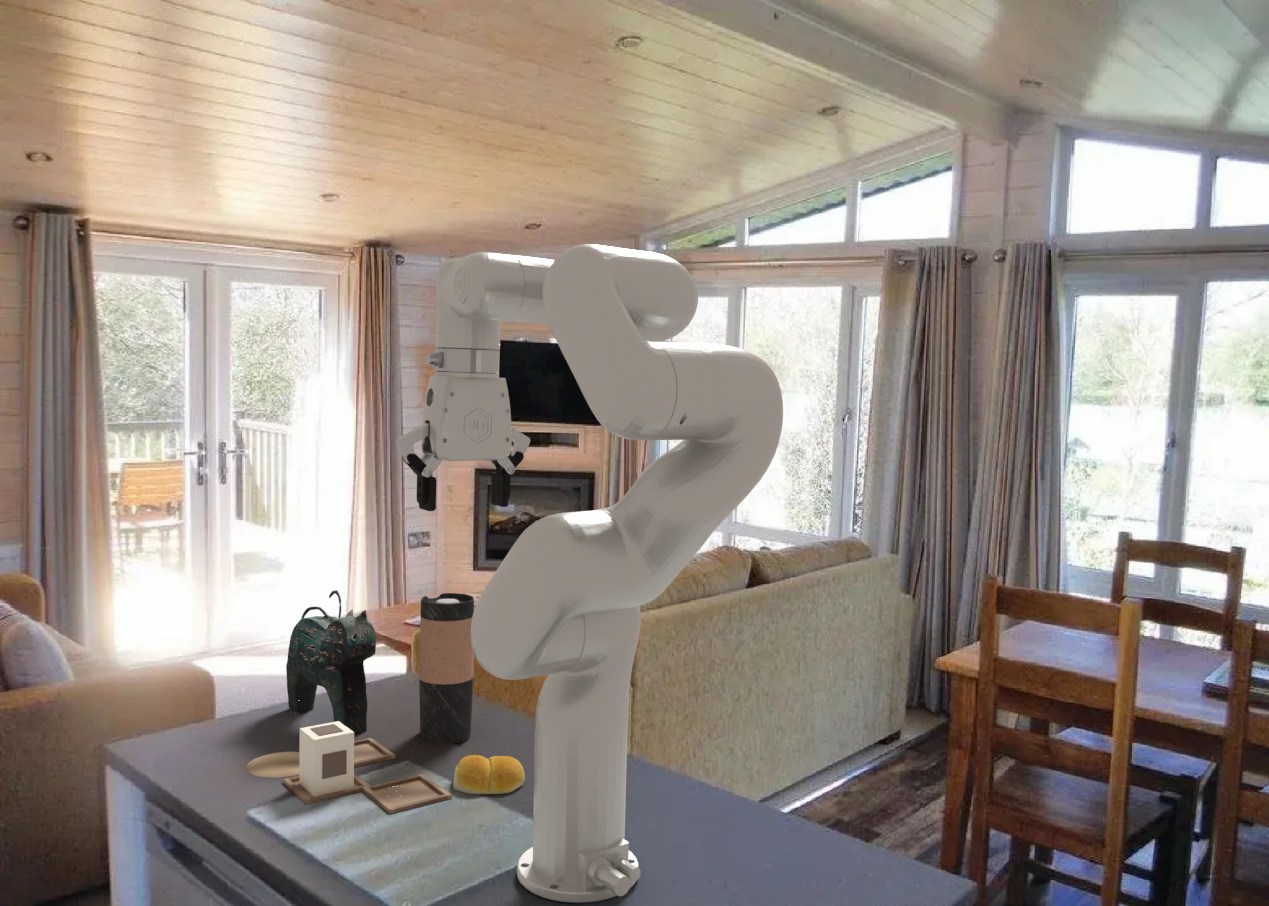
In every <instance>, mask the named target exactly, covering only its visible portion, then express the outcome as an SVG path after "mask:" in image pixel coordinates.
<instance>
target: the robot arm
mask: <svg viewBox="0 0 1269 906" xmlns="http://www.w3.org/2000/svg"><path fill="white" fill-rule="evenodd" d="M436 280H437V283H436V284H437V285H436V321H435V322H436V323H435V324H436V325H435V326H436V328H435V348H434V349H433V350H434V351H433V353H427V354H426V355H425V359H424V361H425V364H426V365H427V366H432V367H433V371H435V373H434V375H430V377H429V381H428V384H427V385H428V386H427V388H426V389H427V390H426V394H425V398H424V399H425V400H424V405H423V412H422V424H421V425H419V426H417V427H415V428H413V429H411V430H410V431H407V432H406V433H405V434H403V435H401V436H399V437H398V438H396V440H395V445H396V446H397V448H398V450H399V453H400V455H401V456H402V460H403V462H404V464H406V465H407V466H408V468H410V469H411V471H412V473H413V474H414V476H415V475H416V502H417V504H418V507H419V509H421V510H423V511H427V512H434V511H436V509H437V477H435V476H433V474H434V473H435V471H436V470H437V469H438V467H439V466H440V465H441V464H442V462H443V461H448V462H473V461H475V462H479V461H481V462H482V461H483V462H484V461H485V462H486V461H489V462H490V463H491V465H492V466H493V468H494V469H495V471H492V473H491V480H490V481H491V482H490V483H491V487H490V504H492V505H494V506H497V507H500V508H507V507H508V506H509V500H510V497H511V482H512V481H511V477H512V476H511V475H514V473H515V472H516V469H517V467H518V466H519V465H520V464H521V462H522V461H523V460H524V457H525V454H526V452H527V450H528V448H529V445H530V443H531V438H530V437H529V436H528V435H525V434H524V433H522V432H520V431H519V430H517V429H515V428H513V426H512V415H511V413H512V412H511V403H510V397H509V396H510V395H509V389H508V384H507V380H506V379H507V378H506V377H500V353H501V323H502V322H503V323H504V322H505V323H507V322H508V323H521V324H534V325H537V324H538V325H544V326H545V325H546V326H549V327H550V330H551V332H552V334H553V337H554V339H555V341H556V343H557V345H558V348H560V351H561V354H562V355H563V357H564V359H565V360H566V362H567V365H568V366H569V369H570V371H571V373H572V374H573V376H574V378H575V380H576V381H575V382H576V383H577V386H578V387H579V389H580V391H581V393H582V396H583V397H584V399H585V401H586V403H587V406H588V407H589V408H590V410H591V412H592V414H593V415H594V417H595V418H596V420H597V421H598V422H599V424H601V426H602V427H603V428H604V429H605V430H607V432H608V433H611V434H612V435H614V436H617V437H619V438H622V439H625V440H631V441H678V440H679V441H680V440H681V441H680V442H679V443H678V444H677V445H676V446H674V447H673V448H671V449H669V450H668V451H666V452H665V453H663V454H661V456H659V457H658V458H657V459H654V461H653V462H651V463H650V464H649V465H648V466H647V467H645V469H644V470H642V472H641V473H640V474H639V476H638V477H637V478H636V480H635V482H634V483H633V484H632V486H631V487H630V488H629V489H628V491H627V492H626V493H625V494H624V496H622V498H621V499H620V500H618V501H617V502H616V503H615V504H613V505H611V506H608V507H604V508H598V509H593V510H591V509H590V510H581V511H569V512H560V513H554V514H549V515H546V516H544V517H541V518H540V519H538V520H536V521H534V522H533V523H532V524H530V525H529V526H528V527H526V528H525V529H524V531H522V533H521V534H520V535H519V537H518V538H517V539H516V541H515V542H514V544H513V545H512V546H511V548H510V549H509V551H508V552H507V554H506V555H505V557H504V558H503V560H502V561H501V562H500V565H499V566H498V567H497V569H496V571H495V572H494V573H493V575H492V576H491V578H490V579H489V581H488V583H487V584H486V585H485V587H484V589H483V590H482V592H481V594H480V596H479V597H478V600H477V602H476V604H475V606H474V613H473V617H472V622H471V644H472V648H473V652H474V657H475V659H476V660H477V662H478V664H479V665H480V666H481V668H483V669H484V670H485V672H487V673H488V674H490V675H492V676H493V677H496V678H499V679H502V680H508V681H509V680H511V681H513V680H523V679H530V678H536V677H541V676H546V678H545V680H544V682H543V684H542V686H541V689H540V692H539V695H538V699H537V703H536V709H535V721H534V722H535V725H534V727H535V729H534V764H533V766H534V767H533V768H534V769H533V773H534V774H533V775H534V776H533V821H532V822H533V824H532V825H533V826H532V846H531V847H530V848H528V849H527V850H525V851H524V852H523V854H521V856H520V857H519V859H518V861H517V866H516V873H517V879H518V881H519V883H520V884H521V885H522V886H523V888H525V889H526V890H528V891H529V892H531V893H532V894H534V895H536V896H539V897H542V898H544V899H548V900H551V901H557V902H564V903H574V904H575V903H576V904H577V903H578V904H579V903H580V904H581V903H594V902H600V901H601V902H602V901H604V900H608V899H612V898H614V897H617V896H618V897H622V896H625V895H626V894H628V892H629V890H630V889H631V888H632V887H633V886H634V885H635V883H636V882H637V881H638V880H639V879H640V877H641V875H642V871H641V869H640V868H639V867H640V866H639V865H640V864H639V861H638V859H637V857H636V855H635V854H634V853H633V852H632V851H630V842H629V840H626V839H625V836H626V835H625V834H626V802H627V801H626V800H627V799H626V798H627V795H626V794H627V764H628V762H627V761H628V760H627V759H628V728H629V727H628V726H629V703H630V687H631V679H632V671H633V665H634V660H635V656H636V651H637V648H638V642H639V637H640V632H641V625H642V624H641V623H642V619H641V618H642V615H641V607H640V606H644V605H646V604H649V603H650V602H652V601H654V600H656V599H657V598H659V597H660V596H661V595H662V593H663V592H664V591H666V590H667V588H668V587H669V586H670V585H671V583H672V582H673V581H675V579H676V578H677V576H678V575H679V574H680V573H681V572H682V571H683V570H684V569H685V567H686V566H687V565H688V564H689V562H691V560H692V559H693V558H694V557H695V556H696V554H697V553H698V552H699V551H700V549H701V548H702V547H703V546H704V545H705V544H706V542H707V541H708V539H709V538H710V537H711V535H712V534H713V533H714V532H715V531H716V529H717V528H718V527H719V526H720V525H721V524H722V523H723V521H724V520H726V518H728V517H729V515H730V514H731V513H732V512H733V511H734V510H736V509H737V507H738V506H739V505H741V503H742V502H743V501H744V500H745V499H746V498H747V497H748V496H749V494H750V493H751V492H752V491H753V489H754V488H755V487H756V486H757V485H758V484H759V482H760V481H761V480H762V478H763V477H764V475H765V474H766V473H767V471H768V469H769V467H770V466H771V463H772V462H773V459H774V457H775V455H776V452H777V450H778V447H779V443H780V439H781V436H782V430H783V429H782V428H783V422H784V420H783V419H784V405H783V404H784V403H783V394H782V389H781V386H780V382H779V379H778V377H777V375H776V374H775V373H776V372H775V371H774V370H773V369H772V368H771V366H770V365H769V364H768V363H767V362H766V361H765V360H763V359H762V358H760V357H759V356H758V355H756V354H754V353H752V352H750V351H748V350H746V349H742V348H739V347H736V346H731V345H727V344H718V343H709V342H708V343H707V342H691V341H690V342H689V341H675V340H674V341H673V340H670V339H672V338H674V337H676V336H678V335H679V334H681V333H682V332H683V331H684V330H686V328H687V327H688V326H689V325H690V323H691V322H692V320H693V318H694V317H695V314H696V312H697V309H698V302H699V293H698V287H697V284H696V281H695V280H694V277H693V276H692V275H691V273H690V271H688V270H687V268H686V267H685V266H684V265H683V264H682V263H680V262H679V261H677V260H676V259H674V258H672V257H669V256H668V255H665V254H662V253H657V252H655V251H654V252H653V251H645V250H637V249H630V248H623V247H616V246H608V245H602V244H590V243H589V244H587V243H585V244H579V245H575V246H572V247H570V248H566V250H564V251H562V252H561V253H559V255H558V256H557V257H556V258H555V259H549V258H542V257H541V258H540V257H534V256H527V255H519V254H505V253H498V252H491V251H490V252H489V251H488V252H487V251H478V252H474V253H473V252H472V253H470V254H467V255H466V256H464V257H463V258H451V259H447V260H444V261H443V262H441V263H440V265H439V267H438V270H437V279H436ZM669 340H670V341H669ZM420 441H421V450H422V451H421V452H422V453H423V454H422V455H421V457H419V456H418V455H417V454H416V452H415V448H414V445H416V443H418V442H420ZM512 443H513V447H512Z"/></svg>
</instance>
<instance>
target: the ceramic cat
mask: <svg viewBox="0 0 1269 906" xmlns="http://www.w3.org/2000/svg"><path fill="white" fill-rule="evenodd" d="M334 595H336V596H337V598H338V603H339V605H338V607H339V609H338V610H339V611H338V618H337V617H335V616H332V615H329V614H327V612H326V611H325V610H324V608H322V607H320V606H310V607H308V608H306V609H305V610H304V612H303V613H302V615H301V618H300V620H299V621H298V622H297V623H296V624H295V626H294V627H293V629H292V632H291V635H290V639H289V645H288V652H287V661H286V666H285V667H286V669H285V670H286V688H287V690H286V691H287V698H288V700H287V701H288V702H287V704H288V709H289V710H291V712H293V713H295V712H296V713H295V714H302V713H305V711H308V712H310V711H309V710H311V711H313V710H314V706H315V701H316V695H317V690H318V689H317V688H318V686H320V687H322V688H324V689H325V691H326V693H327V696H328V699H329V702H330V704H331V708H332V712H333V722H336V721H339V722H341V723H342V724H343V725H345V726H346V727H348V728H349V729H350V730H352V731H353V732H354V735H356V734H361V733H364V732H367V729H368V727H367V722H368V720H367V719H368V718H367V717H368V716H367V715H368V705H369V704H368V703H369V702H368V695H367V682H366V681H367V678H366V673H365V666H364V662H365V660H368V659H369V658H371V657H373V656H374V655H375V654H376V653H377V651H376V650H377V649H376V647H377V636H376V631H375V628H374V627H375V626H374V625H373V623H372V622H371V620H370V619H368V615H367V610H363V611H361V613H359V615H357V616H355V615H354V610H353V609H351V610H349V611H348V612H347V614H346V615H345V616H344V617H342V605H341V604H342V597H341V595H340V593H339V591H338V590H337V589H336V590H335V589H334V590H332V591H331V592H330V594H329V596H328V597H329V599H331V598H332V596H334ZM315 610H319V611H320V612H321V613H322V614H323V615H316V616H311V617H306V615H307V614H308V613H309V612H310V611H315ZM298 700H300V701H298ZM312 709H313V710H312ZM301 712H302V713H301Z"/></svg>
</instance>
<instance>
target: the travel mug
mask: <svg viewBox="0 0 1269 906" xmlns="http://www.w3.org/2000/svg"><path fill="white" fill-rule="evenodd" d="M474 610H475V598H474V596H472V595H469V594H464V593H457V592H456V593H454V592H445V593H441V594H440V595H439V596H437V597H431V598H430V597H428V595H424V596H423V597H421V599H420V619H419V620H420V624H419V626H420V629H419V630H420V632H419V667H418V668H419V671H418V684H419V685H418V686H419V693H418V694H419V733H420V734H419V735H420V737H421V738H422V739H423V740H426V741H429V742H434V743H435V742H436V743H452V744H454V745H455V744H459V743H462V742H465V741H467V740H469V738H470V737H471V734H472V717H473V694H474V676H475V675H474V674H475V673H474V668H475V667H474V666H475V665H474V661H475V659H474V657H475V654H474V652H473V648H472V644H471V622H472V617H473V613H474Z"/></svg>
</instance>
